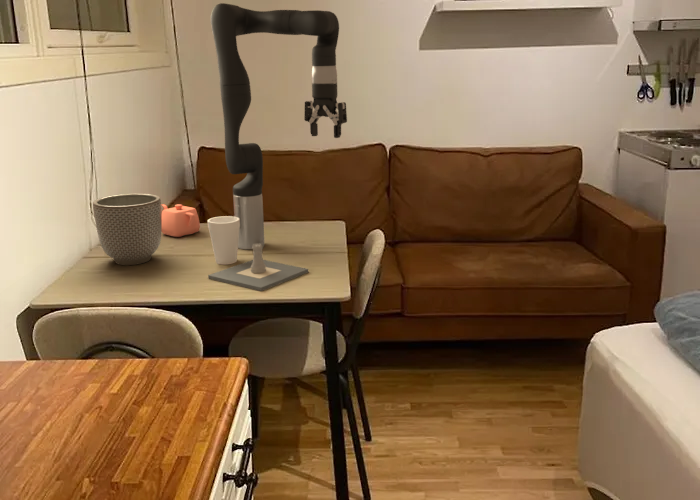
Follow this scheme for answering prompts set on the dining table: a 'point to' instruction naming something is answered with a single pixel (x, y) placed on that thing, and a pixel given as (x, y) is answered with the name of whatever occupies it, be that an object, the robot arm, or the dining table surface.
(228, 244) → the foam cup
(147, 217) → the planter
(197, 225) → the teapot
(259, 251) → the rook chess piece
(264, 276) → the board
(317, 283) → the dining table surface
